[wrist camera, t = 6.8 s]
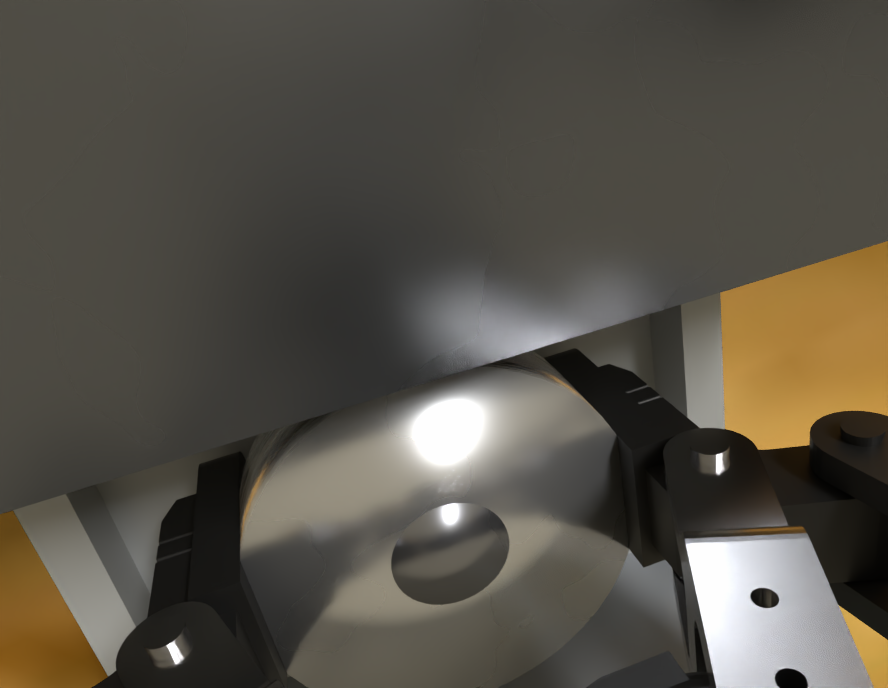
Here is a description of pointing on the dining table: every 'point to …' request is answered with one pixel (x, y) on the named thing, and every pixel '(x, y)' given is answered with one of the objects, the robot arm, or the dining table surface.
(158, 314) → the housing
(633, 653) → the tray
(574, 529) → the disc
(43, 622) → the dining table surface
